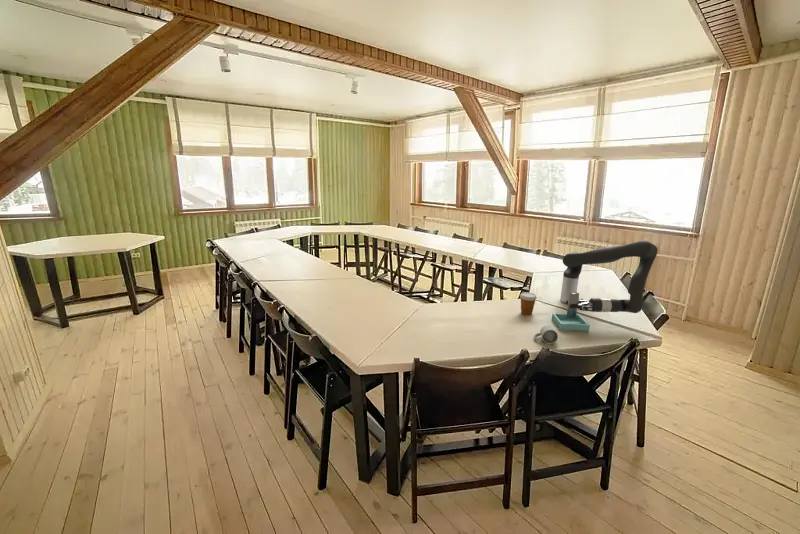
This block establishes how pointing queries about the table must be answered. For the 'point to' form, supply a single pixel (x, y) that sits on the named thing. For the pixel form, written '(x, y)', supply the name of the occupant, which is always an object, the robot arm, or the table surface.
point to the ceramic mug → (547, 335)
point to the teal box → (570, 323)
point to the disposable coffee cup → (527, 303)
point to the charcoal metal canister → (572, 300)
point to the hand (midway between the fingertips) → (568, 304)
